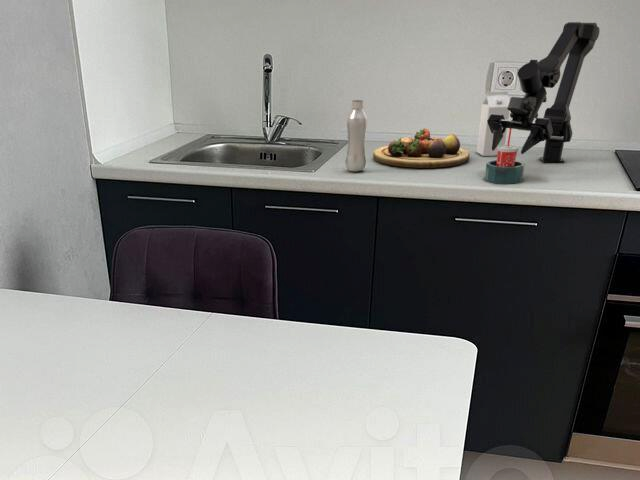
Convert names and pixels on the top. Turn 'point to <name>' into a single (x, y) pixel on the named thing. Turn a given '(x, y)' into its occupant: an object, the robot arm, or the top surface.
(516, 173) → the pot
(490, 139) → the milk carton
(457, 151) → the wooden plate
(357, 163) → the plastic bottle
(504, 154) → the beverage cup
